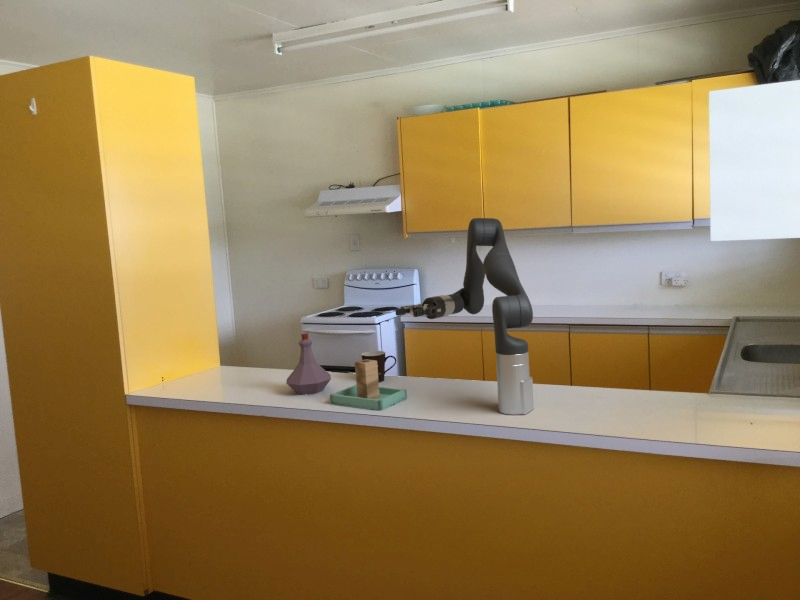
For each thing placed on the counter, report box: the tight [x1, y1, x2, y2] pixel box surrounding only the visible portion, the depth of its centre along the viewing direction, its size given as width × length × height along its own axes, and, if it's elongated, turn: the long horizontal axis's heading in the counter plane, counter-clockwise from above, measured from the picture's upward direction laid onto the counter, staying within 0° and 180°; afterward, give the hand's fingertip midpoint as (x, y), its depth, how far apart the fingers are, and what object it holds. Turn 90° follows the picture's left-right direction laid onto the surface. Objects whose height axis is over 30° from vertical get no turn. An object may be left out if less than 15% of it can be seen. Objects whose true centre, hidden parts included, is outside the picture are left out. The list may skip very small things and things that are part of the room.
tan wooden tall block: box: [354, 359, 380, 399], centre depth 214 cm, size 5×5×12 cm
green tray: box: [329, 383, 408, 411], centre depth 215 cm, size 20×14×3 cm
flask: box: [286, 333, 332, 396], centre depth 232 cm, size 16×16×20 cm
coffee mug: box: [360, 350, 397, 383], centre depth 241 cm, size 12×9×10 cm
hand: (405, 313), depth 223 cm, fingers open, 8 cm apart
